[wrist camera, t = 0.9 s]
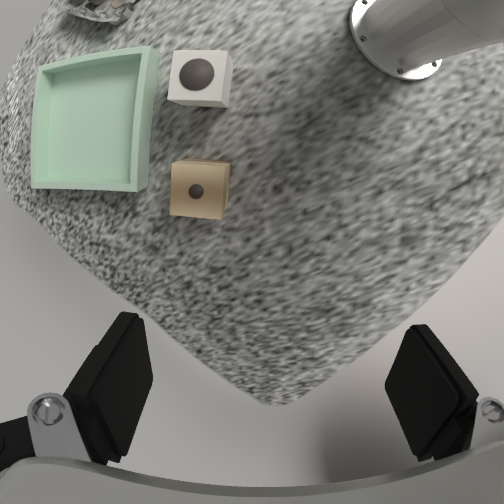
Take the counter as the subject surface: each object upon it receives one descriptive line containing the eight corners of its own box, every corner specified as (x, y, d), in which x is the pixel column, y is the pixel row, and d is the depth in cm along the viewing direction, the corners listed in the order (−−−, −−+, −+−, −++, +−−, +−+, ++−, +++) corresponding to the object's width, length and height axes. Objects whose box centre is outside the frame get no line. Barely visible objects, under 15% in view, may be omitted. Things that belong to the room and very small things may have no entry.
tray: (53, 69, 26) (38, 66, 23) (160, 53, 26) (150, 45, 23) (46, 183, 32) (31, 188, 29) (148, 186, 32) (136, 191, 29)
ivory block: (188, 64, 27) (173, 50, 21) (233, 65, 27) (227, 50, 22) (183, 105, 29) (166, 99, 23) (228, 107, 29) (221, 101, 23)
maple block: (187, 158, 31) (171, 163, 26) (231, 161, 31) (225, 167, 26) (184, 201, 33) (169, 215, 27) (227, 205, 33) (220, 220, 27)
